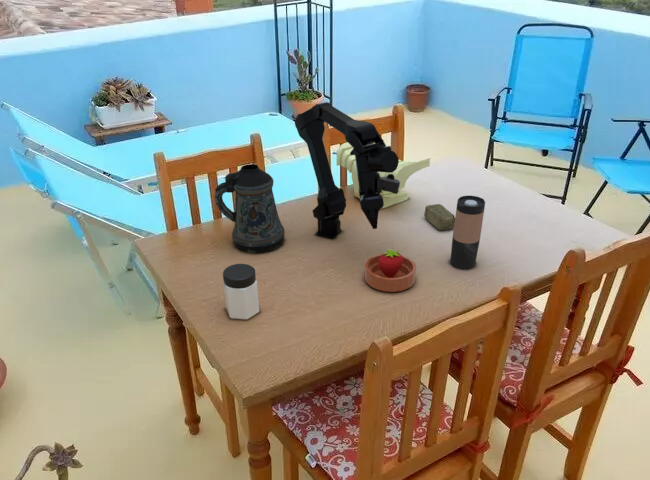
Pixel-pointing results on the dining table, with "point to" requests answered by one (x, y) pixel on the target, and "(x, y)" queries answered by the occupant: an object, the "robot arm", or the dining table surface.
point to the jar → (241, 291)
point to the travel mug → (467, 231)
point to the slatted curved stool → (380, 173)
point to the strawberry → (390, 262)
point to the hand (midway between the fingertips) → (374, 224)
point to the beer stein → (252, 210)
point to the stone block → (439, 217)
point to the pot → (397, 283)
